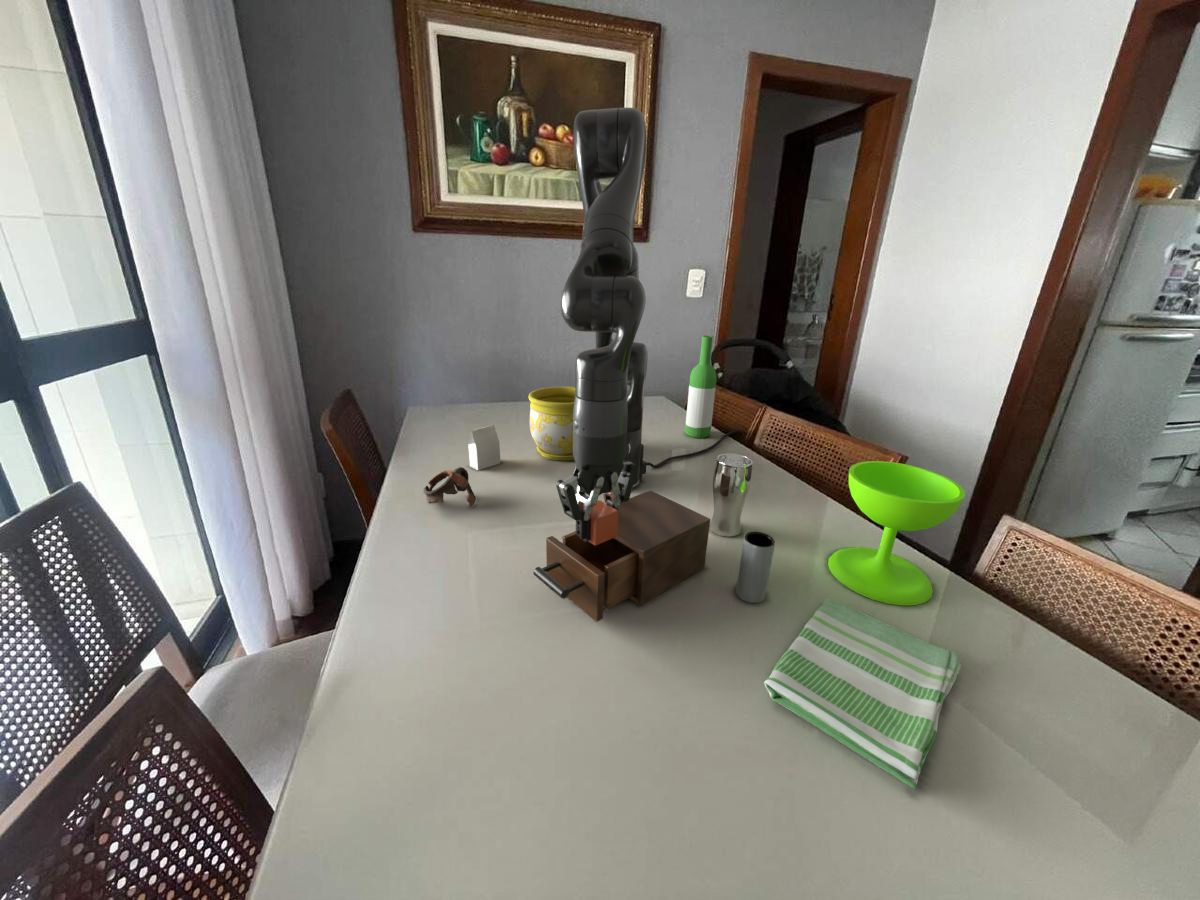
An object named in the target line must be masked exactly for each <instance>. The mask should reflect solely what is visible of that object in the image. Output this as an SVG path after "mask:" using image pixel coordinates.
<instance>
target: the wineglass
mask: <svg viewBox="0 0 1200 900" xmlns="http://www.w3.org/2000/svg"><path fill="white" fill-rule="evenodd" d="M848 487H849V491H850V496H851V497H852V499H853V501H854V502H855V504H856V506H857V508H858V509H859V510H860V511H861V512H862V513H863V514H864V515H866V516H867V517H868V518H869V519H870V520H872V521H873V522H874V523H876V524H877V525H880V526H883V527H884V528H883V532H882V535H881V539H880V541H879V542H880V543H879V547H878V549H876V548H873V547H864V546H850V547H845V548H840V549H838V550H837V551H835V552H833V553H831V556H830V557H829V558H828V560H827V561H828V562H827V563H828V564H827V567H828V569H829V571H830V573H831V575H833V577H834V578H835V579H836V580H837V581H838V582H839V583H840V584H842V585H843V586H844V587H846V588H847V589H849V590H851V591H853V592H854V593H856V594H858V595H860V596H863V597H866V598H868V599H871V600H872V601H877V602H879V603H884V604H887V605H895V606H903V607H904V606H907V607H908V606H918V605H921V604H925V603H927V602H928V601H929V600H930V599H932V596H933V594H934V590H933V585H932V582H931V581H930V579H929V578H928V576H927V575H926V574H925V572H923V570H921V569H920V568H919V567H918V566H916V565H915V564H913V563H912V562H910V561H909V560H907V559H905V558H903V557H900V556H898V555H896V554H894V553H892V551H893V548H894V545H895V541H896V537H897V534H898V531H901V532H902V531H903V532H916V531H921V530H922V531H923V530H927V529H931V528H933V527H936V526H938V525H940V524H942V523H943V522H945V521H947V520H948V519H950V518H951V517H952V516H953V515H954V514H955V513H956V512H957V511H958V510H959V508H960V506H961V504H962V502H963V501H964V499H965V497H966V491H965V490H964V487H962V486H961V485H960V484H959V483H957V481H955V480H952V479H951V478H949V477H947V476H945V475H942V474H941V473H937V472H935V471H933V470H929V469H927V468H923V467H919V466H915V465H910V464H907V463H900V462H893V461H883V460H867V461H859V462H857V463H854V464H852V465H851V466H850V467H849V469H848Z"/></svg>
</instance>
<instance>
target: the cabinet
mask: <svg viewBox="0 0 1200 900" xmlns="http://www.w3.org/2000/svg"><path fill="white" fill-rule="evenodd" d="M710 523H711V518H710V517H707V516H706V515H703V514H701V513H700V512H697V511H695V510H693V509H691V508H689V507H687V506H684V505H682V504H680V503H678V502H676V501H674V500H672V499H670V498H668V497H666V496H664V495H661V494H659V493H657V492H656V491H653V490H651V489H650V490H648V491H645V492H642V493H639V494H637V495H634V496H632V497H630V498H629V500H628V501H627V502H625V501H623V502H622V503H621V506H620V507H619V508H618V531H617V536H616V537H614V539H616V540H618V541H619V542H621V543H622V544H624V545H626V546H627V547H629V548H630V549H632V550H634V551H635V552H637V553H638V554H639V567H638V582H637V593H636V594H634V595H632V596H630V597H629V598H628V599H630V600H631V601H632V602H634V603H635V604H637V606H639V607H641V606H643V605H645V604H646V603H649V602H650V601H651V600H653V599H655V598H657V597H658V596H660V595H662V594H663V593H665V592H667V591H669V590H670V589H672V588H674V587H675V586H677V585H679V584H681V583H682V582H684V581H685V580H687V579H689V578H691V577H693V576H694V575H696V574H698V573H700V572H701V571H703V570H705V569H706V568H705V566H706V558H707V551H708V542H709V535H710Z"/></svg>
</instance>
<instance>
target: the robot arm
mask: <svg viewBox="0 0 1200 900" xmlns="http://www.w3.org/2000/svg"><path fill="white" fill-rule="evenodd" d="M572 135H573V136H572V138H573V139H572V140H573V151H574V156H575V157H574V158H575V159H574V160H575V164H576V165H575V166H576V173H577V178H578V179H577V180H578V184H579V190H580V198H581V203H582V210H583V217H584V220H583V226H582V234H581V242H580V243H581V244H580V252H579V255H578V258H577V260H576V262H575V264H574V266H573V268H572V269H571V271H570V273H569V275H568V277H567V279H566V282H565V284H564V287H563V289H562V293H561V299H560V311H561V316H562V319H563V320H564V323H565V324H566V325H567V326H568V327H569V328H570V329H572V330H573V331H578V332H583V333H584V332H585V333H586V332H589V333H595V348H591V349H587V350H584V351H581V352H579V353H578V355H576V356H577V357H576V358H575V363H574V365H575V366H574V367H575V368H574V369H575V370H574V376H575V377H574V378H575V379H574V380H575V381H574V382H575V383H574V384H575V385H574V387H575V402H574V409H573V457H574V460H573V461H574V464H575V466H574V469H573V471H572V476H570V477H568V479H566V480H562V479H559V480H557V482H556V483H555V487H556V490H557V493H558V497H559V500H560V503H561V506H562V511H563V513H564V514H565V515H566V516H568V517H569V518H571V519H573V520H574V521H575V531H576V535H577V536H578V537H579V538H580V539H582V540H583V541H585V542H587V541H589V540H590V539H591V519H590V517H591V513H592V509H593V506H595V505H596V504H597V501H598V500H599V496H601V495H602V496H603V501H604V503H606V504H607V505H609V506H611V507H613V508H615V509H616V510H618V508H619V507H620V506H621V503H622V502H623V501H625V502H627V501H628V500H629V498H631V494H632V490H633V489H635V488H637V487H639V485H640V483H642V482H643V475H646V474H647V466H649V467H650V468H653V469H656V468H657V469H658V468H660V467H662V466H663V465H665V464H667V463H669V462H670V461H674V460H678V459H684V458H689V457H693V456H697V455H700V454H703V453H706V452H709V451H711V450H712V449H714V448H716V447H717V446H718V445H720V444H721V443H722V442H723V440H724V439H725V438H726V437H729V436H730V435H733V434H735V433H739V434H740V435H743V434H744V432H743V431H742V430H741V429H733V430H731V431H728V432H727V433H724V434H723V435H722V436H720V438H719V440H717V441H716V442H715V443H713V444H712V445H710V446H708V447H706V448H704V449H701V450H697V451H694V452H690V453H686V454H679V455H675V456H670V457H668V458H665V459H663V460H662V461H661V462H659V463H657V464H654V463H652V462H650V461H645V460H644V453H645V451H644V450H645V446H644V444H643V443H642V435H643V434H642V433H643V418H644V401H645V386H646V378H647V371H648V370H647V369H648V360H649V359H648V357H649V356H648V355H649V354H648V349H647V346H646V344H645V343H642V342H635V338H636V336H637V332H638V329H639V326H640V324H641V321H642V318H643V315H644V313H645V309H646V291H645V288H644V285H643V284H642V282H641V280H640V278H639V254H638V251H637V248H636V246H635V244H634V228H635V219H636V211H637V206H638V203H639V199H640V194H641V190H642V189H641V188H642V184H643V179H644V173H645V167H646V160H647V145H648V143H647V142H648V141H647V139H648V138H647V125H646V120H645V116H644V115H643V113H642V111H641V110H640V109H638V108H635V107H627V106H626V107H610V108H598V109H586V110H582V111H579V112H578V113H577V114H576V116H575V118H574V122H573V129H572ZM600 180H612V181H610V183H609V184H608V185H607V186H606V187H605V188H604V189H603V190H602V185H601V182H600ZM613 333H615V337H614V339H613ZM628 386H629V389H628ZM583 506H585V508H584V510H583Z"/></svg>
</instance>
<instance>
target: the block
mask: <svg viewBox="0 0 1200 900" xmlns="http://www.w3.org/2000/svg"><path fill="white" fill-rule="evenodd" d="M584 508H585V505H584V506H583V510H584ZM590 519H591V539H590V540H589V542H590V543H592V544H593V545H595V546H596V545H598V544H601V543H603V542H605V541H607V540H610V539H612V538H614V537H616V536H617V531H618V510H616V509H615V508H613V507H611V506H609V505H607V504H606V503H605V501H602V500H600V499H598V500H597V504H596V505H595V506H593V509H592V513H591V517H590Z"/></svg>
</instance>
